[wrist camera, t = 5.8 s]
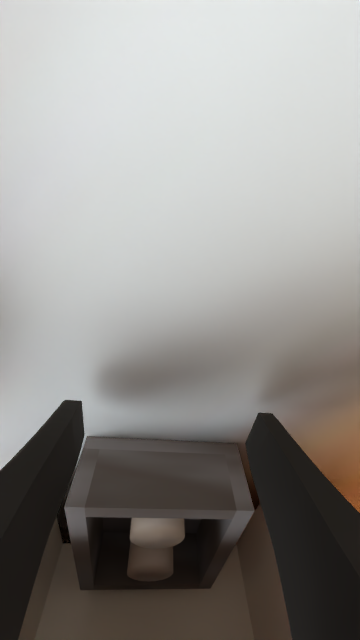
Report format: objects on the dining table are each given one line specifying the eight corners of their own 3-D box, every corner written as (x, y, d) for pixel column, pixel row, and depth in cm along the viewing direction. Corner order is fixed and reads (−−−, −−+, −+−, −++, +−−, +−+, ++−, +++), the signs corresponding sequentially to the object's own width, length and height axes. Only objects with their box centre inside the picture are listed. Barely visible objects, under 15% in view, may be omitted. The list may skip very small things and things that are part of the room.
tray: (203, 521, 18) (210, 588, 15) (95, 519, 18) (80, 590, 15) (235, 437, 14) (254, 510, 11) (88, 430, 13) (63, 507, 10)
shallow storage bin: (246, 550, 20) (286, 739, 13) (48, 549, 19) (-23, 764, 12) (292, 477, 15) (398, 727, 8) (22, 468, 14) (-131, 769, 7)
